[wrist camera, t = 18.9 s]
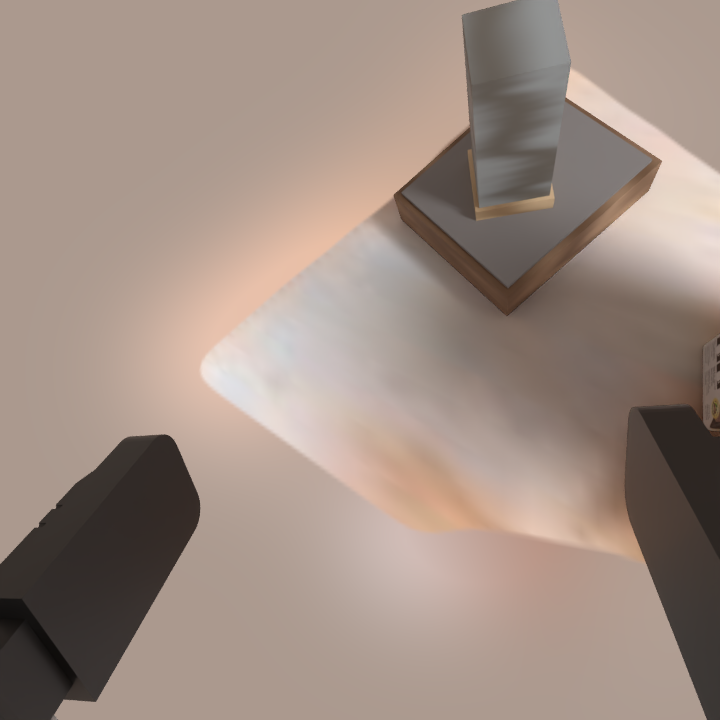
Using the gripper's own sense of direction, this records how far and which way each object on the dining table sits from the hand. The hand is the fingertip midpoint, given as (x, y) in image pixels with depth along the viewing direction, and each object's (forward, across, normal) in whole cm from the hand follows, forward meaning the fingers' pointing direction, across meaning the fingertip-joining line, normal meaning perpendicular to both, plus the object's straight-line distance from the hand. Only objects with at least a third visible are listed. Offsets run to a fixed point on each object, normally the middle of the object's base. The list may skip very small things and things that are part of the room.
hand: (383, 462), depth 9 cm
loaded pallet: (+36, -5, +2) cm, 36 cm away
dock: (+39, -6, +5) cm, 39 cm away
